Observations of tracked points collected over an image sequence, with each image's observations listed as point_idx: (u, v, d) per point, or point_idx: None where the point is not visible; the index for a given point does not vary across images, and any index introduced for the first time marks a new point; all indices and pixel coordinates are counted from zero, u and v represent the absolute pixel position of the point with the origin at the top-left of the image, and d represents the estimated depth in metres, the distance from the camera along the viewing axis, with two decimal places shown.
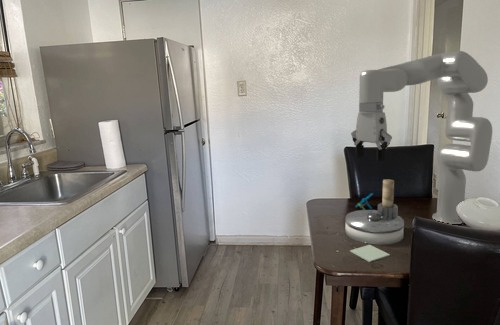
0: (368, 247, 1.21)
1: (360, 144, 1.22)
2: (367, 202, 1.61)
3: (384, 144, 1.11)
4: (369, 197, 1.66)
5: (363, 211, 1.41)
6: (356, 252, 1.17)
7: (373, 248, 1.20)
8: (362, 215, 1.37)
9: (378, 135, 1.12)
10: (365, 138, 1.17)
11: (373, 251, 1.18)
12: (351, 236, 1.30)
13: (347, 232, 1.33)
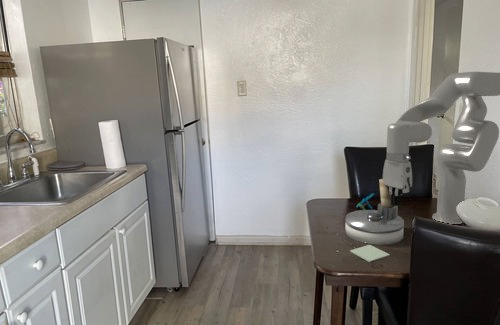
0: (368, 247, 1.21)
1: (395, 191, 1.31)
2: (368, 202, 1.61)
3: (400, 192, 1.27)
4: (370, 197, 1.65)
5: (363, 211, 1.41)
6: (356, 252, 1.17)
7: (373, 248, 1.20)
8: (362, 215, 1.37)
9: None
10: (392, 184, 1.29)
11: (373, 251, 1.18)
12: (351, 236, 1.30)
13: (347, 232, 1.33)
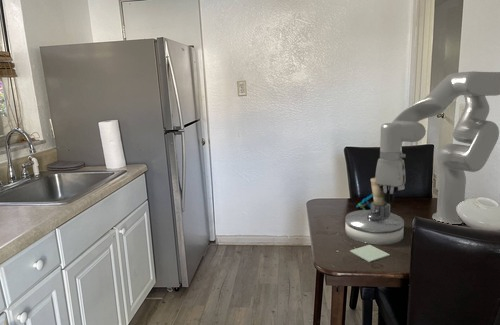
0: (368, 247, 1.21)
1: (388, 189, 1.34)
2: (368, 202, 1.61)
3: (395, 189, 1.31)
4: None
5: (355, 212, 1.40)
6: (356, 252, 1.17)
7: (373, 248, 1.20)
8: (360, 217, 1.35)
9: None
10: (387, 182, 1.31)
11: (373, 251, 1.18)
12: (351, 236, 1.30)
13: (347, 232, 1.33)
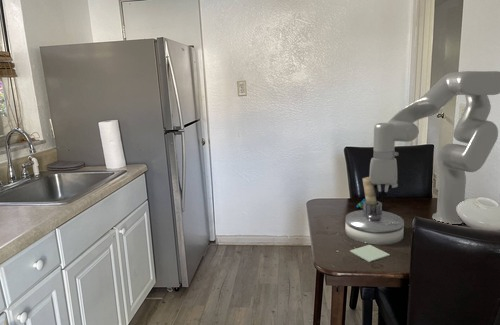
0: (368, 247, 1.21)
1: None
2: None
3: (390, 187, 1.34)
4: None
5: (351, 215, 1.37)
6: (356, 252, 1.17)
7: (373, 248, 1.20)
8: (360, 219, 1.33)
9: (393, 183, 1.33)
10: (383, 181, 1.34)
11: (373, 251, 1.18)
12: (351, 236, 1.30)
13: (347, 232, 1.33)
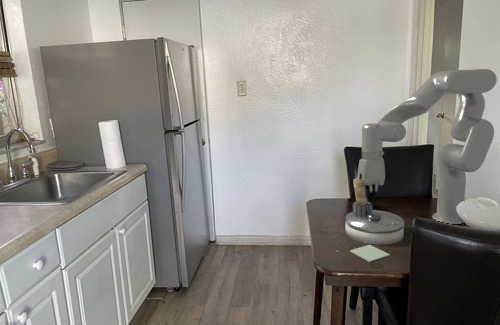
0: (368, 247, 1.21)
1: None
2: None
3: (378, 186, 1.37)
4: None
5: (351, 220, 1.32)
6: (356, 252, 1.17)
7: (373, 248, 1.20)
8: (365, 221, 1.30)
9: None
10: (375, 181, 1.35)
11: (373, 251, 1.18)
12: (351, 236, 1.30)
13: (347, 232, 1.33)
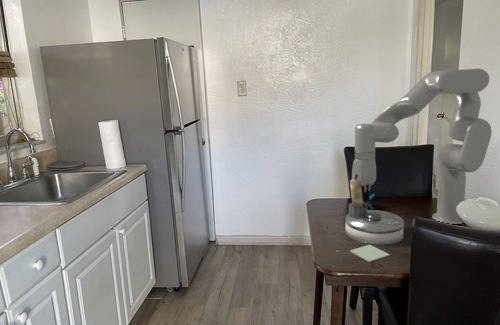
0: (368, 247, 1.21)
1: None
2: (368, 203, 1.60)
3: None
4: None
5: (355, 222, 1.30)
6: (356, 252, 1.17)
7: (373, 248, 1.20)
8: (369, 222, 1.29)
9: None
10: (369, 181, 1.36)
11: (373, 251, 1.18)
12: (351, 236, 1.30)
13: (347, 232, 1.33)
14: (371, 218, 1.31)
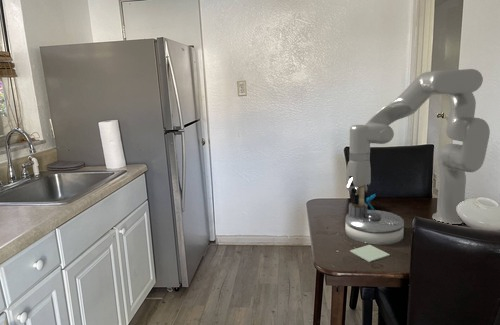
0: (368, 247, 1.21)
1: None
2: (369, 203, 1.60)
3: (367, 186, 1.38)
4: None
5: (355, 222, 1.30)
6: (356, 252, 1.17)
7: (373, 248, 1.20)
8: (369, 222, 1.29)
9: None
10: (363, 183, 1.34)
11: (373, 251, 1.18)
12: (351, 236, 1.30)
13: (347, 232, 1.33)
14: (371, 218, 1.31)
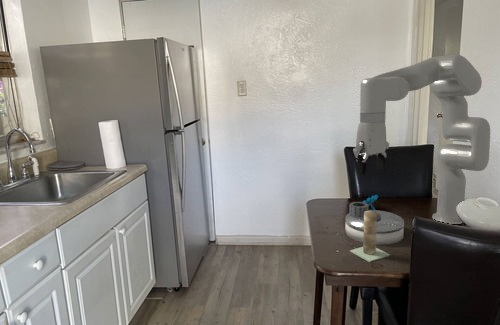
0: None
1: None
2: (370, 204, 1.59)
3: (386, 151, 1.14)
4: (376, 199, 1.62)
5: (354, 222, 1.30)
6: (356, 252, 1.17)
7: None
8: None
9: None
10: (377, 150, 1.09)
11: None
12: (351, 236, 1.30)
13: (347, 232, 1.33)
14: None
